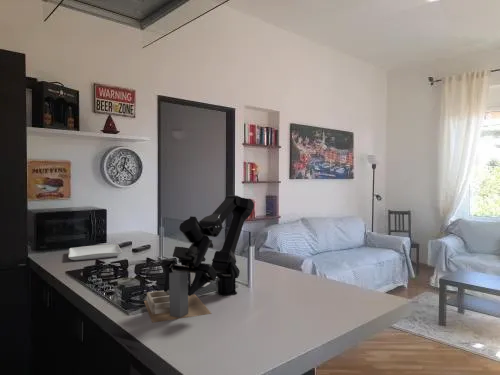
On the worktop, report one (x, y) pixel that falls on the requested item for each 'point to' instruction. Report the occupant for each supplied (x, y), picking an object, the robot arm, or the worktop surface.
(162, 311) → the cord organiser
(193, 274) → the white cube
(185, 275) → the tall gray block
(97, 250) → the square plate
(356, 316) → the worktop surface
